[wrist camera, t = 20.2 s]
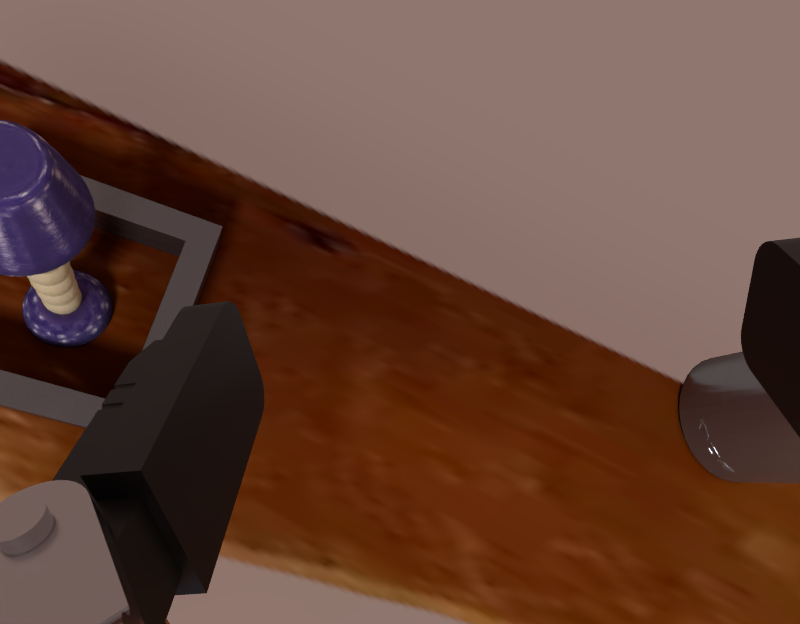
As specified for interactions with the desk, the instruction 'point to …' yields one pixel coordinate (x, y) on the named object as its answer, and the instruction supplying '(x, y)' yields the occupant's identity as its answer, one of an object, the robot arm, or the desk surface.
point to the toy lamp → (48, 239)
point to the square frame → (196, 256)
